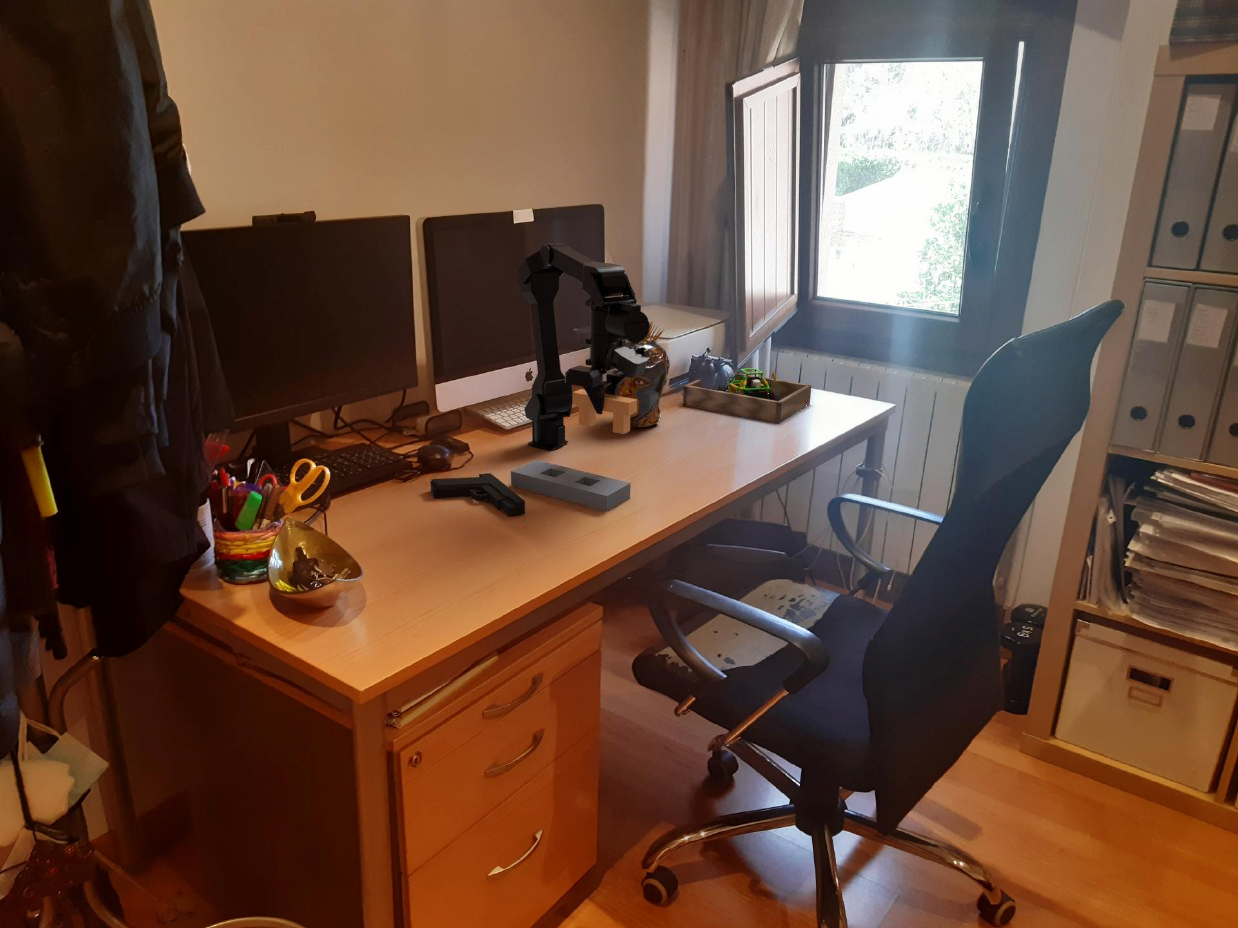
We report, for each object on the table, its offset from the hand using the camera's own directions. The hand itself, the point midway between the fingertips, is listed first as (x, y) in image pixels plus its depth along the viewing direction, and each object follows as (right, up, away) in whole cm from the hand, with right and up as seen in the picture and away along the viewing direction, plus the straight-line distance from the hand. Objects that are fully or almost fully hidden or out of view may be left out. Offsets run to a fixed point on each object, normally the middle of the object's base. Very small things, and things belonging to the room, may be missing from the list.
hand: (604, 412), depth 178 cm
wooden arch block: (0, -3, +1) cm, 3 cm away
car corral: (+35, +5, +54) cm, 65 cm away
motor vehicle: (+35, +5, +54) cm, 65 cm away
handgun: (-24, -18, -10) cm, 31 cm away
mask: (+8, -1, +37) cm, 38 cm away
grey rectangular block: (-6, -15, -5) cm, 17 cm away
